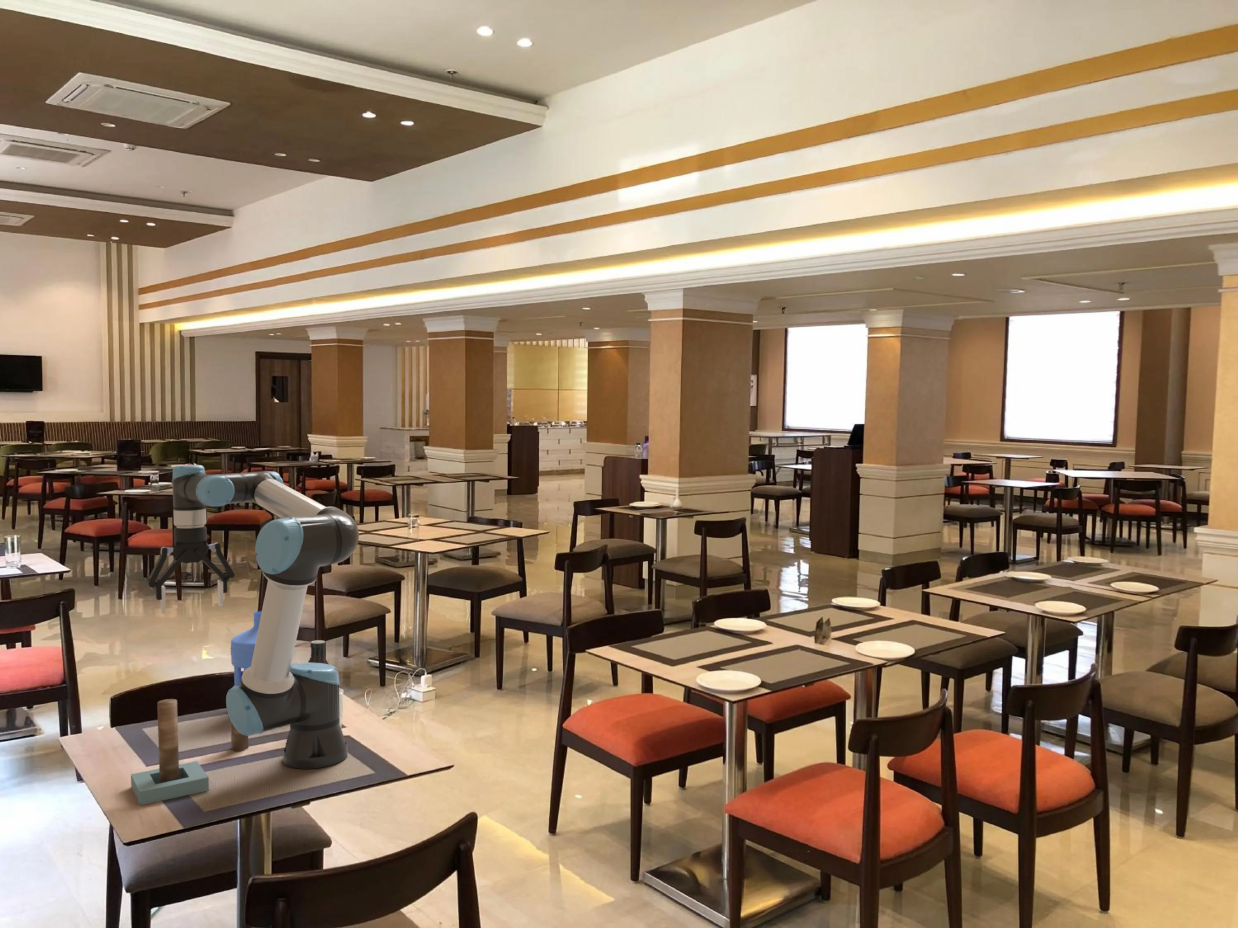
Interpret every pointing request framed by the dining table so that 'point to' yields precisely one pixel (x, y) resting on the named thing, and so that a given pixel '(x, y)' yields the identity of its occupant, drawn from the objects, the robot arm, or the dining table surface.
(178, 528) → the robot arm
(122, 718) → the dining table surface
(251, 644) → the water jug
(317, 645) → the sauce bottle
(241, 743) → the short peg
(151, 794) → the hollow square block
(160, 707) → the tall peg
